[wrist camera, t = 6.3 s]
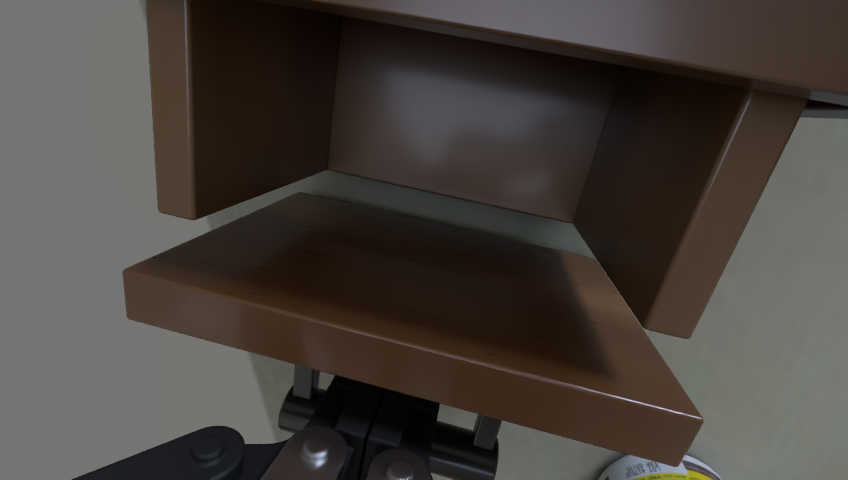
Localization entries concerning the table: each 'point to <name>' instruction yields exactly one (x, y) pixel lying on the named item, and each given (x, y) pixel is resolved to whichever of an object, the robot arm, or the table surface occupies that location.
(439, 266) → the drawer
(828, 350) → the table surface
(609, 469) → the supplement bottle
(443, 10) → the cabinet
